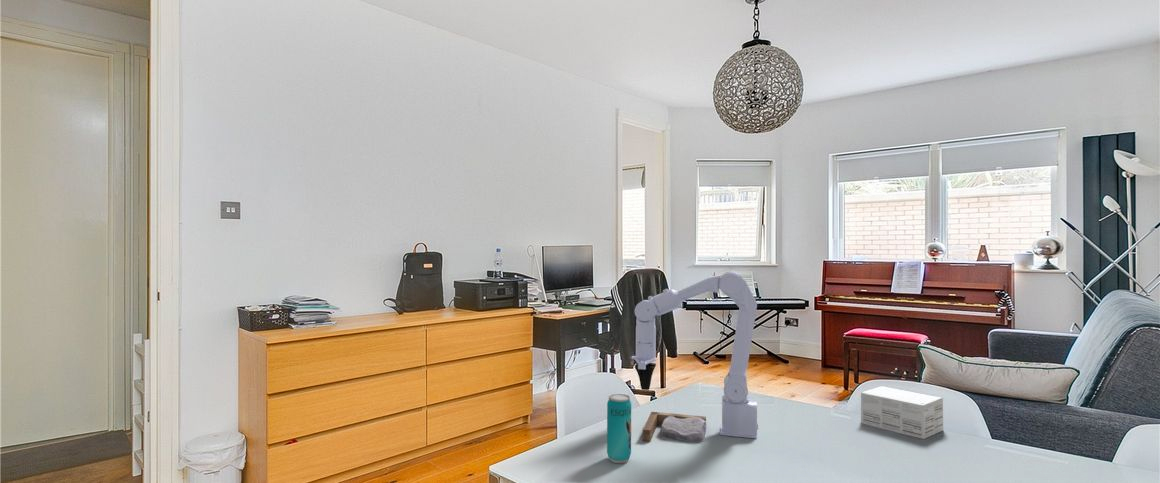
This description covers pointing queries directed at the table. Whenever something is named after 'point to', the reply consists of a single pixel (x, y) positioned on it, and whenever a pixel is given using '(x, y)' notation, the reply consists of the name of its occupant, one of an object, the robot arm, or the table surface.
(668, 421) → the stone block
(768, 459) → the table surface
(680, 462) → the table surface
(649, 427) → the dock
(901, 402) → the supplement box
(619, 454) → the beverage can
